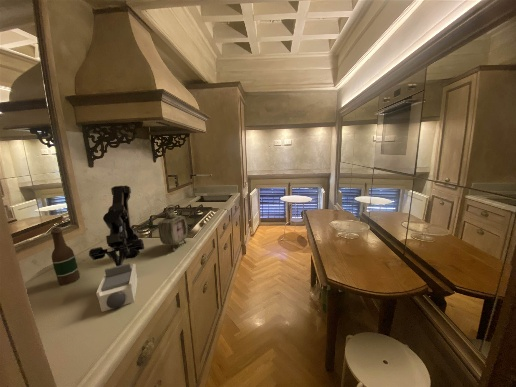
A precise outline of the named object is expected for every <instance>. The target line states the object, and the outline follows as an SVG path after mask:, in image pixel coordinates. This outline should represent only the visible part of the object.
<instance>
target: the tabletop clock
mask: <svg viewBox="0 0 516 387" xmlns="http://www.w3.org/2000/svg"><path fill="white" fill-rule="evenodd" d="M169 207H173V209H170V210H169V211H168V209H169ZM165 209H166V210H165V212H166V213H168V214H167V215H166V217H165V218H164V219H161V220H160V221H159V222H158V226H157V229H158V237H159V240H160V241H161V243H162V244H164V245H171V247H172V250H171V251H172V252H175V251H176V248H175V245H179V244H180V243H182V242H183V243H184V244H186V243H187V242H188V241H187V240H186V239H187V238H188V236H189V227H188V221H187V217H186V216H185V215H177V214H176V213H175V212H174V211H175V209H176V207H175V205H174V204H169V205H168V206H166V208H165Z"/></svg>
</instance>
